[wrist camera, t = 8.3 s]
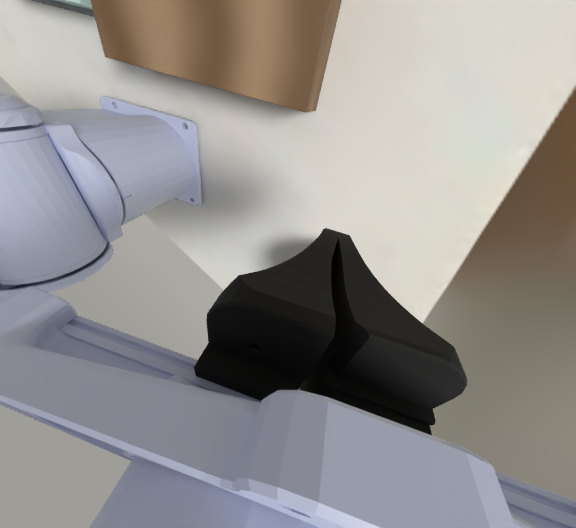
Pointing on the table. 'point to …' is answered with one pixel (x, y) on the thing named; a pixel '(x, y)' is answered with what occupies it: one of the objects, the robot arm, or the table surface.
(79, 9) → the mat
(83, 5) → the mint green flat block
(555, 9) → the table surface
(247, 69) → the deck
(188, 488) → the robot arm
